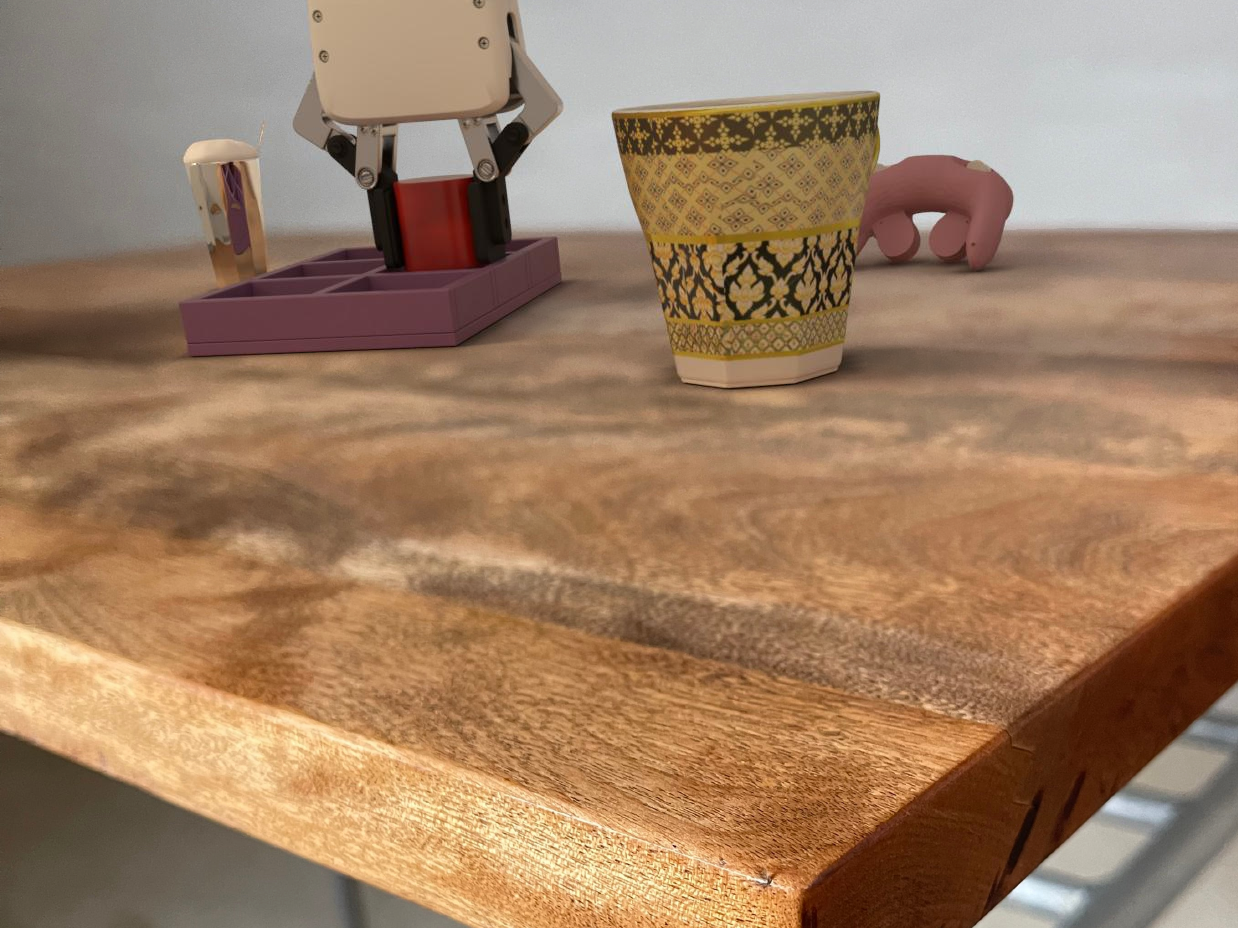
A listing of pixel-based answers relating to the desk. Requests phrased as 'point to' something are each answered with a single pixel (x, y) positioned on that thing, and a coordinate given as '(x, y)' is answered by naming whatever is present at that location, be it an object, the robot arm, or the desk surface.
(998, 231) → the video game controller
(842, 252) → the ceramic cup
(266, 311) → the purple compartment tray
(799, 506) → the desk surface
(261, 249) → the milkshake
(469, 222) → the red cylinder
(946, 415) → the desk surface
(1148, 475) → the desk surface
